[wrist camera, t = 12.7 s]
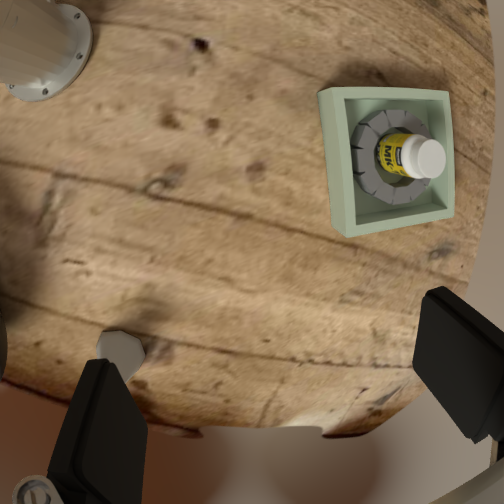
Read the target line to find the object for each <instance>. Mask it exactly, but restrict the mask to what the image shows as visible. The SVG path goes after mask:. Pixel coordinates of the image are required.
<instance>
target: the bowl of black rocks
mask: <svg viewBox="0 0 504 504" xmlns="http://www.w3.org/2000/svg"><path fill="white" fill-rule="evenodd" d="M7 347H8V345H7V333H6V327H5V322H4V319H3V316H2V313H1V310H0V381H1V379H2V376H3V374H4V370H5V366H6V360H7Z"/></svg>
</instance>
